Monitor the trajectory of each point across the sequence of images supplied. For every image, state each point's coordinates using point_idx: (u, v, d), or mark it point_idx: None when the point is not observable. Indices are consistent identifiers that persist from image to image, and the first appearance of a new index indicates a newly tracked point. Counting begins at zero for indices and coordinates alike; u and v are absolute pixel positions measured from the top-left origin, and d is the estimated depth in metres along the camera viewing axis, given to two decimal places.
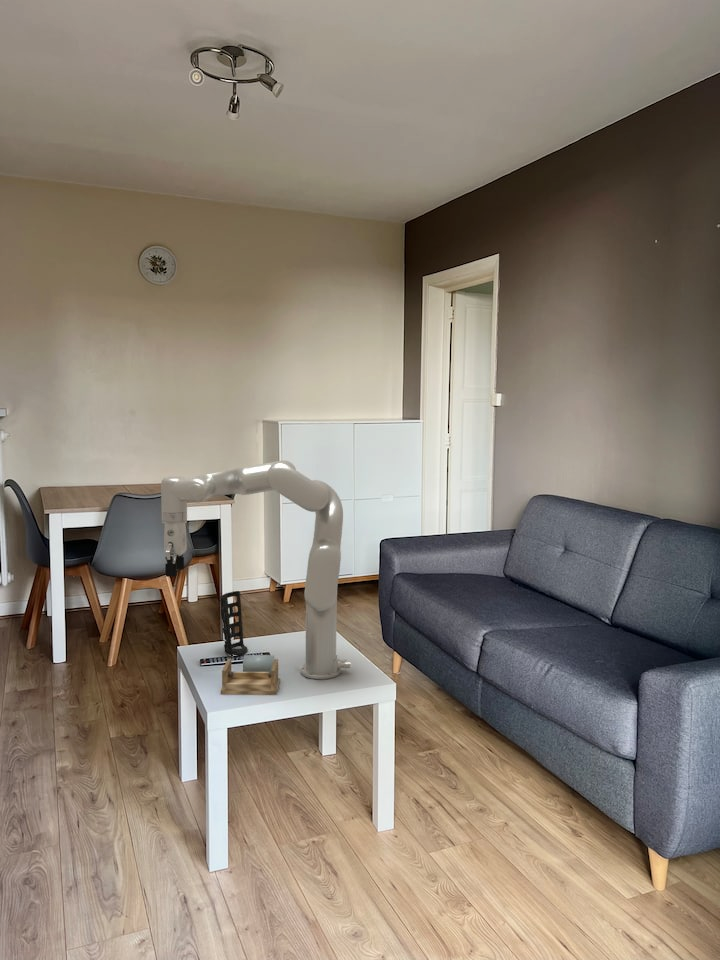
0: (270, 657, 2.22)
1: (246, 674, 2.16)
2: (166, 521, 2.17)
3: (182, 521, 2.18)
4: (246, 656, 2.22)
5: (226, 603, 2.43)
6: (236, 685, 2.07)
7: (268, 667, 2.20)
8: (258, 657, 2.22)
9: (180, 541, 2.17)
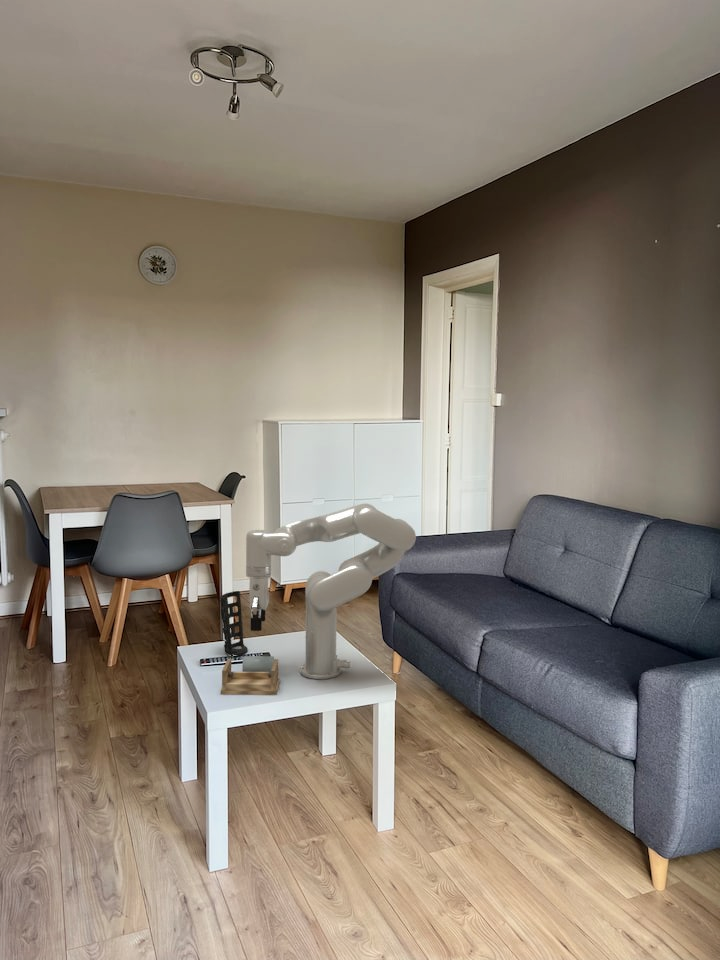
0: (269, 661, 2.20)
1: (246, 674, 2.16)
2: (251, 575, 2.17)
3: (267, 575, 2.18)
4: (245, 659, 2.20)
5: (226, 603, 2.43)
6: (236, 685, 2.07)
7: (268, 671, 2.19)
8: (257, 661, 2.20)
9: (265, 595, 2.17)
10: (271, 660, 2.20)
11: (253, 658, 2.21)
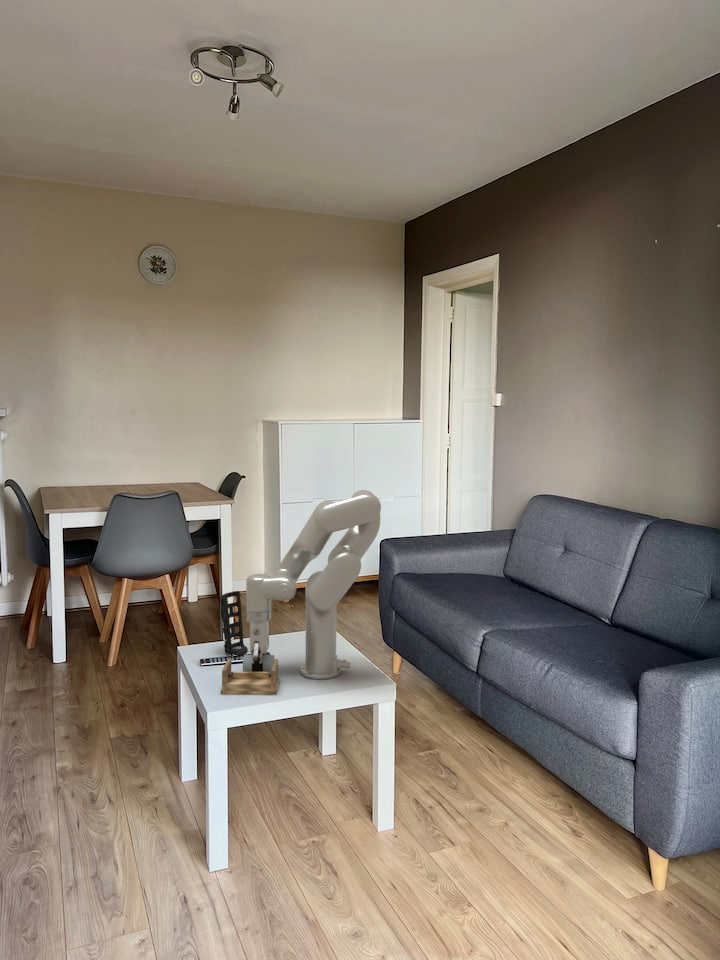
0: (270, 657, 2.22)
1: (246, 674, 2.16)
2: (252, 620, 2.18)
3: (267, 619, 2.19)
4: (246, 656, 2.22)
5: (226, 603, 2.43)
6: (236, 685, 2.07)
7: (268, 667, 2.20)
8: None
9: (266, 640, 2.19)
10: (272, 656, 2.22)
11: None
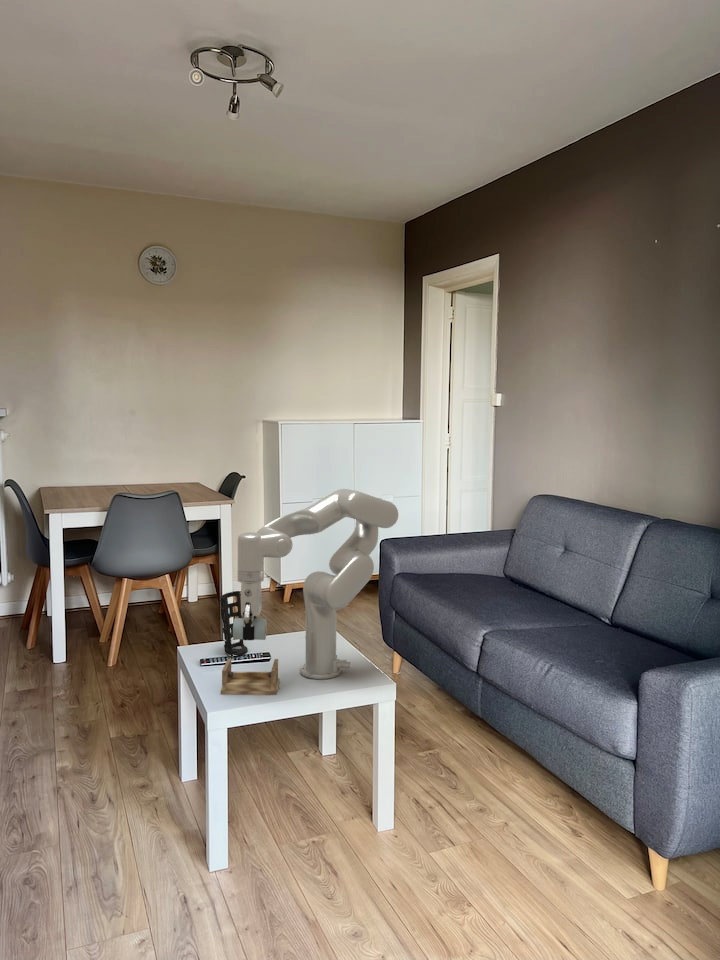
0: (262, 620, 2.09)
1: (246, 674, 2.16)
2: (243, 580, 2.06)
3: (259, 580, 2.07)
4: (236, 619, 2.10)
5: (226, 603, 2.43)
6: (236, 685, 2.07)
7: (260, 631, 2.08)
8: None
9: (258, 601, 2.06)
10: (264, 620, 2.10)
11: None
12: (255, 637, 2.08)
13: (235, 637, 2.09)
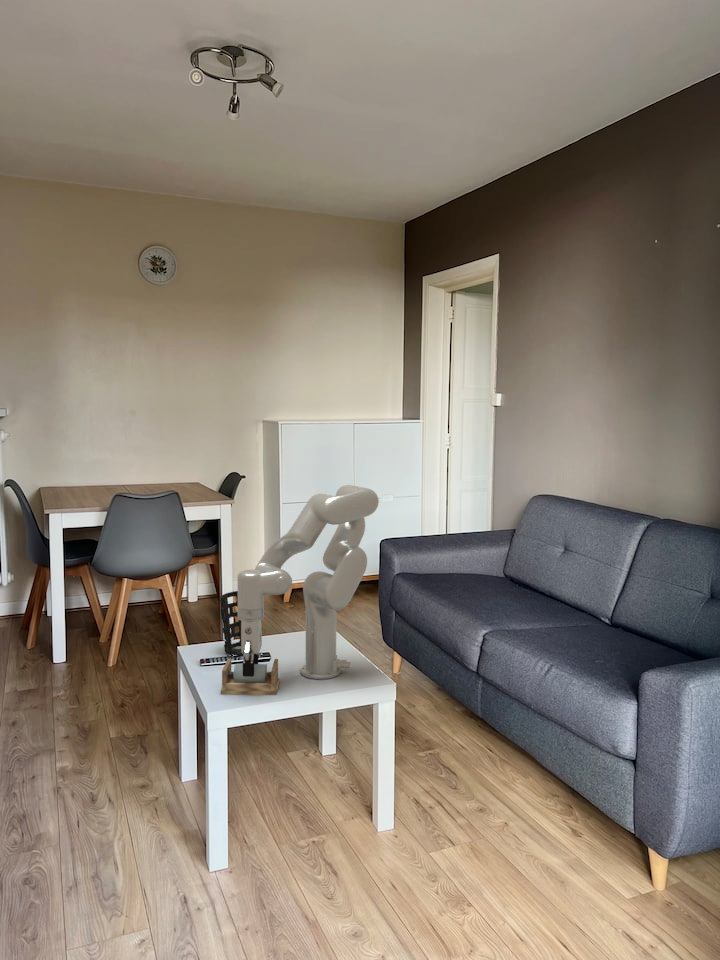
0: (262, 666, 2.11)
1: None
2: (243, 618, 2.07)
3: (259, 617, 2.08)
4: (237, 665, 2.11)
5: (226, 603, 2.43)
6: (236, 685, 2.07)
7: (260, 677, 2.09)
8: None
9: (258, 639, 2.07)
10: (264, 666, 2.11)
11: None
12: None
13: None
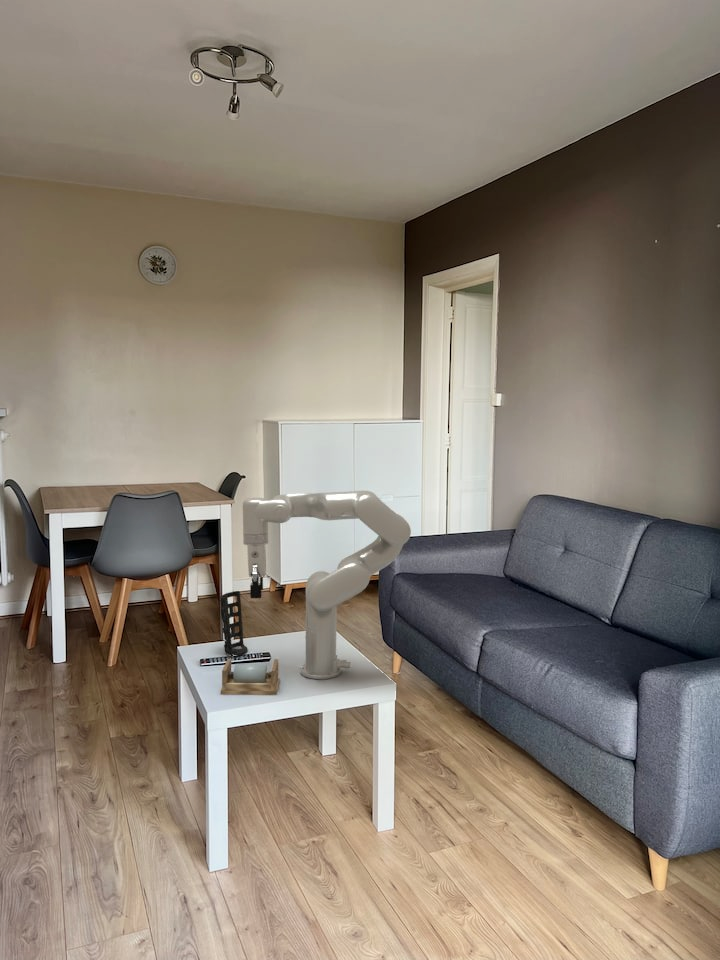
0: (262, 666, 2.11)
1: None
2: (249, 543, 2.16)
3: (265, 542, 2.18)
4: (237, 665, 2.11)
5: (226, 603, 2.43)
6: (236, 685, 2.07)
7: (260, 677, 2.09)
8: (250, 666, 2.11)
9: (264, 562, 2.17)
10: (264, 666, 2.11)
11: (245, 664, 2.11)
12: None
13: None
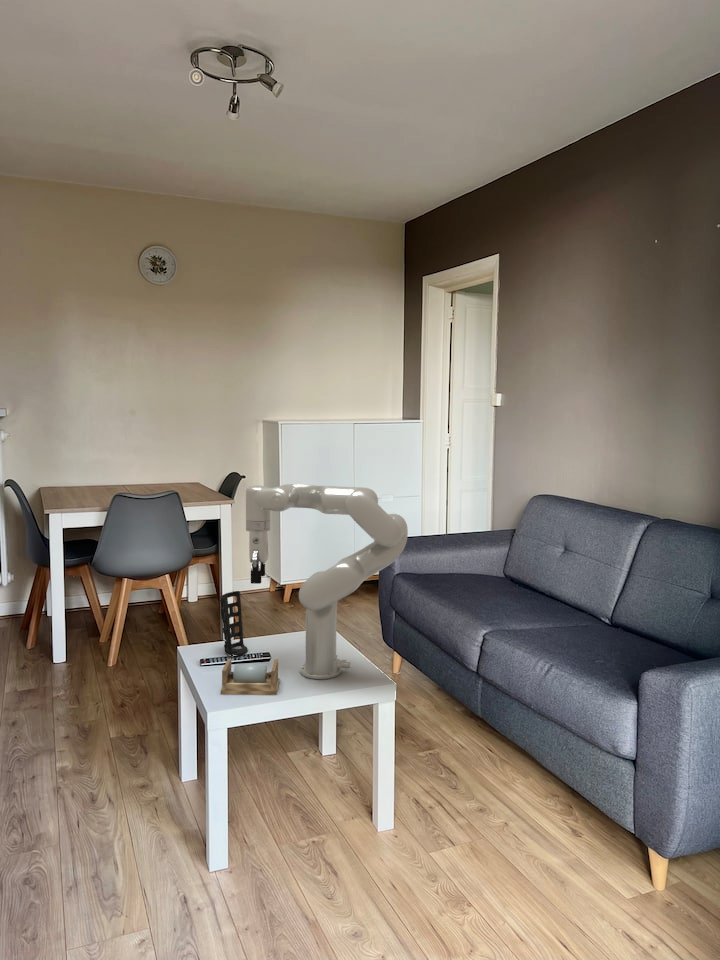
0: (262, 666, 2.11)
1: None
2: (251, 529, 2.21)
3: (266, 529, 2.23)
4: (237, 665, 2.11)
5: (226, 603, 2.43)
6: (236, 685, 2.07)
7: (260, 677, 2.09)
8: (250, 666, 2.10)
9: (265, 549, 2.22)
10: (264, 666, 2.11)
11: (245, 664, 2.11)
12: None
13: None
